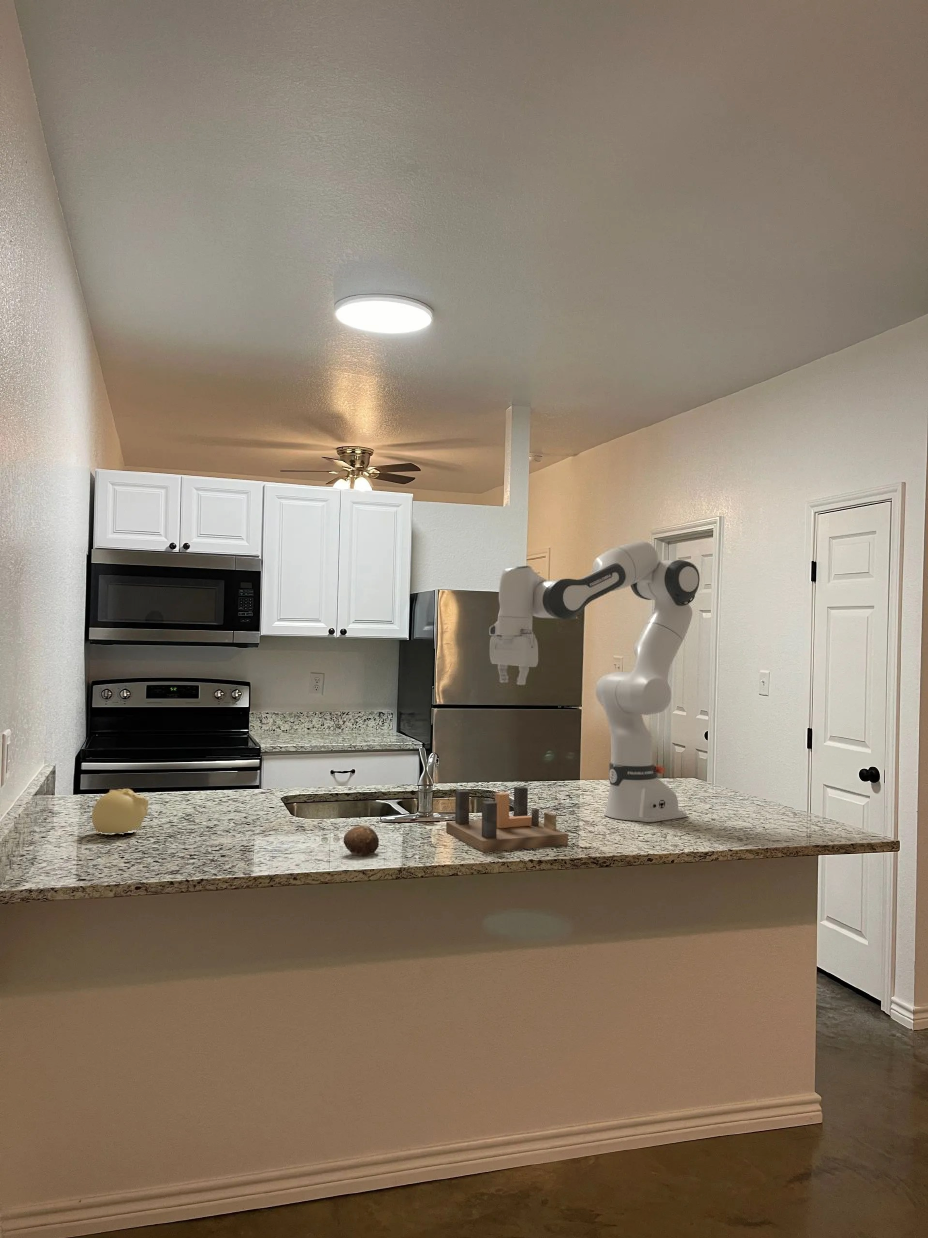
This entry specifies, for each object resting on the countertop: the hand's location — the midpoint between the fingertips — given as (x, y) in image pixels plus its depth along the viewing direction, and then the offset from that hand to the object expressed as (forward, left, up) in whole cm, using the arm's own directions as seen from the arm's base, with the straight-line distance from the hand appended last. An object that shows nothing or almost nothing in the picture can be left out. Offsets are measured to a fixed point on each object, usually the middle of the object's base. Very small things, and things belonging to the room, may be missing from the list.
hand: (512, 683), depth 236 cm
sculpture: (+92, -25, -37) cm, 102 cm away
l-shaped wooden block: (+4, +10, -34) cm, 35 cm away
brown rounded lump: (+43, +13, -37) cm, 58 cm away
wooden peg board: (+6, +10, -37) cm, 38 cm away
